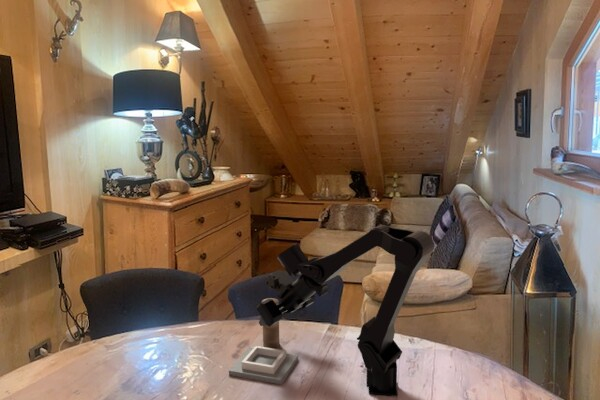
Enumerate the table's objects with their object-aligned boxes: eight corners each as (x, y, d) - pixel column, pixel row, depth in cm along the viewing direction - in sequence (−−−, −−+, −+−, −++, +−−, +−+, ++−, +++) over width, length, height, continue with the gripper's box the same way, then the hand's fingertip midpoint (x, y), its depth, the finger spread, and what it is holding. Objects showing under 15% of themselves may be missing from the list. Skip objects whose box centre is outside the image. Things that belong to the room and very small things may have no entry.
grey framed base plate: (297, 359, 118) (297, 348, 117) (281, 384, 107) (281, 373, 106) (249, 351, 122) (249, 341, 122) (229, 374, 111) (228, 363, 111)
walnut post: (282, 344, 126) (281, 300, 124) (272, 350, 123) (270, 306, 121) (270, 339, 129) (269, 296, 127) (259, 345, 126) (258, 302, 123)
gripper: (306, 255, 126) (277, 284, 134) (261, 273, 111) (231, 304, 120) (329, 288, 122) (298, 316, 131) (286, 311, 108) (253, 340, 116)
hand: (271, 318), depth 124 cm, fingers open, 9 cm apart
